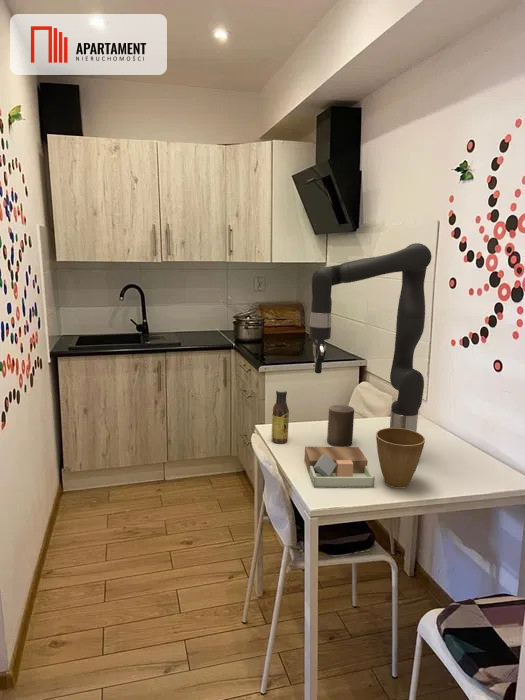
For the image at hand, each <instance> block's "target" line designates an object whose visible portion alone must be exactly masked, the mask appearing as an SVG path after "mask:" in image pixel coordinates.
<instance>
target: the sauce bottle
mask: <svg viewBox="0 0 525 700" xmlns="http://www.w3.org/2000/svg"><path fill="white" fill-rule="evenodd" d="M275 394H276V395H275V396H276V397H275V398H276V400H275V401H276V402H275V404H274V405H273V407H272V415H271V417H272V418H271V419H272V420H271V441H272V442H273V443H275V444H285V443H287V442H288V438H289V422H290V421H289V418H290V410H289V407H288V403H287V395H288V392H287V390H286V389H276V391H275Z"/></svg>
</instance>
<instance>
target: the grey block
mask: <svg viewBox="0 0 525 700" xmlns="http://www.w3.org/2000/svg"><path fill="white" fill-rule="evenodd" d="M336 465H337V464H336V463H335V462H334V461H333V460H331V459H330V458H329V457H328V456H327V455H326V454H324V455H322V456H320V458H319V459H318V461H317V463H316V464H315V466H314V467H313V468H314V469H315V470H316V471H318V472H319V473H320V474H321V475H322V476H323V477H329V476H330V475H331V473H332V471H333V470H334V468H335V466H336Z"/></svg>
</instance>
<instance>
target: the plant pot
mask: <svg viewBox="0 0 525 700" xmlns="http://www.w3.org/2000/svg"><path fill="white" fill-rule="evenodd" d="M375 440H376V449H377V455H378V456H377V457H378V461H379V466H380V470H381V474H382V478H383V480H384V483H385V485H387V486H389V487H391V488H397V489H404V488H407V487H408V486H409V485H410V482H411V481H412V480H413V477H414V475H415V473H416V470H417V468H418V465H419V463H420V460H421V456H422V453H423V450H424V447H425V443H426V438H425V436H424V435H422V434H421V433H419V432H418V431H417V432H415V431H412V430H409V429H403V428H390V427H386V428H385V427H384V428H382V429H379V430H378V431H376V432H375Z"/></svg>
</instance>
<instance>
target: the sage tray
mask: <svg viewBox="0 0 525 700" xmlns="http://www.w3.org/2000/svg"><path fill="white" fill-rule="evenodd" d="M308 474H309V473H308ZM309 478H310V481H311V483H312V487H313V488H324V489H325V488H331V489H332V488H339V487H340V488H339V489H341V488H342V487H343V488H345V489H346V488H351V489H352V488H360V489H361V488H366V489H367V488H371V489H372V488H375V484H376V482H375V481H376V478H375V476H374V475H373V472H372V471H371V469H370V468H369V466H368V465H367V466H365V472H364V473H353V477H336V475H335V473H331V475H330V476H329V477H323V476H322V475H321V474H320V473H315V471H314V469H313V466H310V474H309Z"/></svg>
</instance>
